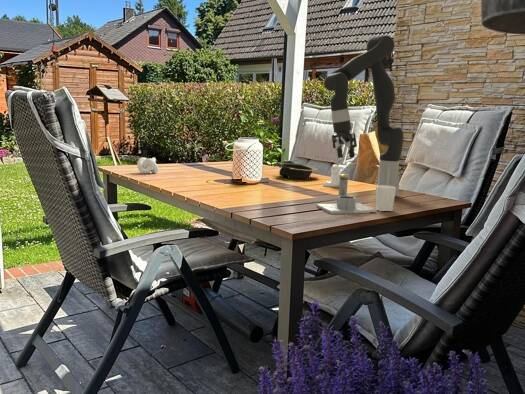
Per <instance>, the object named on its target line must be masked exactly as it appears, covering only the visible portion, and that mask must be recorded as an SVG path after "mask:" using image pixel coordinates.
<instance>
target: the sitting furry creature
mask: <svg viewBox="0 0 525 394" xmlns="http://www.w3.org/2000/svg"><path fill="white" fill-rule="evenodd" d="M342 168H343V167H342V165H340V166H339V165H338V164H333V165H332V167H331V169H330V171H331V174H330V179H329V181H327V180H326V181H323V183H322V186H323V187H327V186H328V187H329V188H339V181H340V177H339V174H340V173H339V172H340V170H341V169H342Z"/></svg>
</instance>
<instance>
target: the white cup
mask: <svg viewBox="0 0 525 394" xmlns="http://www.w3.org/2000/svg"><path fill="white" fill-rule="evenodd" d="M395 190H396V187H394V186H387V185H378V184H377V185H376V186H375V210H376V211H377V210H379V211H378V212H381V211H392V212H393V209H394V203H395V197H396V196H395Z"/></svg>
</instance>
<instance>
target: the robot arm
mask: <svg viewBox="0 0 525 394" xmlns="http://www.w3.org/2000/svg"><path fill="white" fill-rule="evenodd" d="M394 49H395V41H394V39H393V37H392V36H390V35H379V36H378V35H377V36H371V37H369V39H368V40H367V42H366V52H364V53H362V54H359V55H357V56H355V57H353V58H351V59H350V60H349V61H348V62H346V63H345V64H344V65H343V66H342V67H339V68H338V69H336V70H333V72H331V73H329V74H328V75H327V76H326V77H324V82H323V86H324V88H325V89H326V91H329V92H334V96H332V97H331V98H330V100H329V101H330V102H329V103H330V108H331V109H330V111H331V120H332V128H333V129H332V130H333V133H335V134H331V135H332V136H331V139H332V148H333V149H335V150H336V153H337V154H336V155H337V158H338V159H341V158H344V157H343V155H344V154H343V149H342V147H343V146H346V147H347V149H348V157H349V159H353V158H355V157H356V156H355V149H356V147H358V143H357V138H356V133H355V132H353V133H352V132H350V131H352V125H351V124H352V123H351V116H350V111H349V109H348V108H349V105H348V93H349V92H348V89H349V81H352V80H354V78H356V77H357V76H359V75H360V74H361V73H362V72H364V71H365V70H367V69H368V68H369V67H370V72H371V78H372V79H371V80H372V84H373V85H372V86H373V95H374V102H375V111H376V123H377V124H376V125H377V126H376V131H377V140H378V143H379V144H380V145H381V146H385V147H386V146H387V150H386V151H385V152H382V153H380V155H379V164H378V174H377V175H378V176H377V186H378V185H387V186H394V187H396V190H395V197H398V196H399V187H400V178H401V177H400V176H399V169H400V167H399V166H400V159H401V155H402V151H403V143H404V131H403V129H402V128H401V127H399V126H398V127H397V126H391V124H390V113H391V112H392V108H393V106H394V103H395V101H396V92H395V85H394V83H393V80H392V79H391V77H390V76H389V74H388V72H387V71H386V70H385V67H384V64H383V59H385V58H386V57H389V56H391V55H392V53H393V52H394Z"/></svg>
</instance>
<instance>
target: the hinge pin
mask: <svg viewBox="0 0 525 394" xmlns="http://www.w3.org/2000/svg"><path fill="white" fill-rule="evenodd" d="M339 177H340V181H339V187H338V196H348V181H349V178H350V174H348V173H339Z"/></svg>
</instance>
